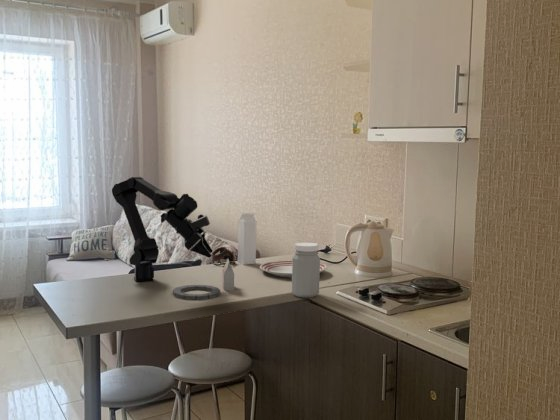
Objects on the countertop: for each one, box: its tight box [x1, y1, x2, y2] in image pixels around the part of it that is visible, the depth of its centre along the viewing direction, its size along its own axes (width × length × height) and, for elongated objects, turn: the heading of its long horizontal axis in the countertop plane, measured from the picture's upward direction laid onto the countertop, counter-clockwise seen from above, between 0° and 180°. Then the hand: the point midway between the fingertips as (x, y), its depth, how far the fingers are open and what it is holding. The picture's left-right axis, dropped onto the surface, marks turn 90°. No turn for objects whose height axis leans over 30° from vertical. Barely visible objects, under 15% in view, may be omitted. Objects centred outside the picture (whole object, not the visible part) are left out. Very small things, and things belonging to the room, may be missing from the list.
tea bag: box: [221, 259, 235, 291], centre depth 217 cm, size 4×7×10 cm, turn 9°
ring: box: [172, 284, 221, 301], centre depth 208 cm, size 16×16×1 cm
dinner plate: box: [259, 259, 328, 279], centre depth 246 cm, size 27×27×3 cm
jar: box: [291, 241, 321, 299], centre depth 210 cm, size 10×10×18 cm
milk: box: [237, 212, 257, 266], centre depth 262 cm, size 6×6×22 cm
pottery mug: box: [211, 246, 236, 264], centre depth 263 cm, size 12×10×8 cm
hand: (211, 254), depth 216 cm, fingers open, 9 cm apart
